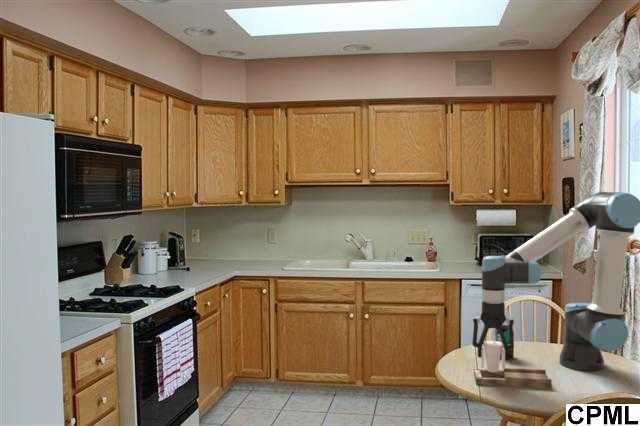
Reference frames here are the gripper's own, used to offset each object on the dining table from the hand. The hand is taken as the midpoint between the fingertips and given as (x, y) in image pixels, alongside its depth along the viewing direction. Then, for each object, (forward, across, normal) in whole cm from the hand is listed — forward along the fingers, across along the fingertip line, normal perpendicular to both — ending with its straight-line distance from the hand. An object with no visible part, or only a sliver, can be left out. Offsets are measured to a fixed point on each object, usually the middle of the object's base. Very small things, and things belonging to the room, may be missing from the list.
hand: (492, 366), depth 190 cm
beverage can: (+5, -7, -27) cm, 28 cm away
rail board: (+5, -6, 0) cm, 8 cm away
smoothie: (+1, 0, 0) cm, 1 cm away
